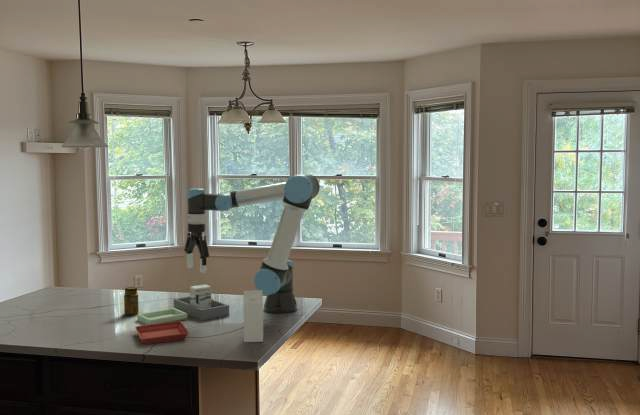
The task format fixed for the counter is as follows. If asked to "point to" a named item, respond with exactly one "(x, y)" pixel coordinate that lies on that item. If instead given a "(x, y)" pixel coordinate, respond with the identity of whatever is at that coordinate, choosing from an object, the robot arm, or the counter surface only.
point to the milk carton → (253, 316)
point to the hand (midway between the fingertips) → (196, 270)
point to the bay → (203, 314)
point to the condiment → (130, 302)
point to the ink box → (200, 296)
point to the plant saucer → (162, 332)
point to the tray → (162, 316)
